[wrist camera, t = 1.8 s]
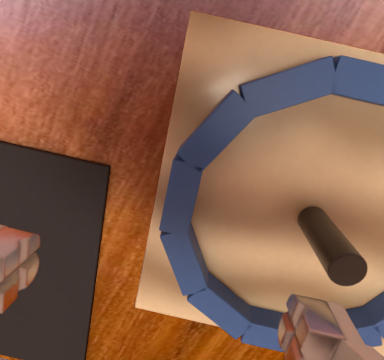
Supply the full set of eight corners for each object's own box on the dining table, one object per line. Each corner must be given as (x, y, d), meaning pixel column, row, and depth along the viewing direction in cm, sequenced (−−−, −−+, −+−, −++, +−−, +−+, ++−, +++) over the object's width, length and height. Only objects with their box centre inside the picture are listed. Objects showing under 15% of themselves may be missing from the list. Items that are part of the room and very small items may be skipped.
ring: (201, 29, 15) (199, 22, 13) (537, 104, 14) (575, 107, 13) (146, 301, 20) (140, 319, 18) (392, 358, 20) (406, 381, 18)
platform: (195, 24, 18) (178, -27, 10) (487, 90, 18) (733, 98, 9) (147, 271, 24) (109, 377, 15) (368, 322, 24) (454, 457, 15)
